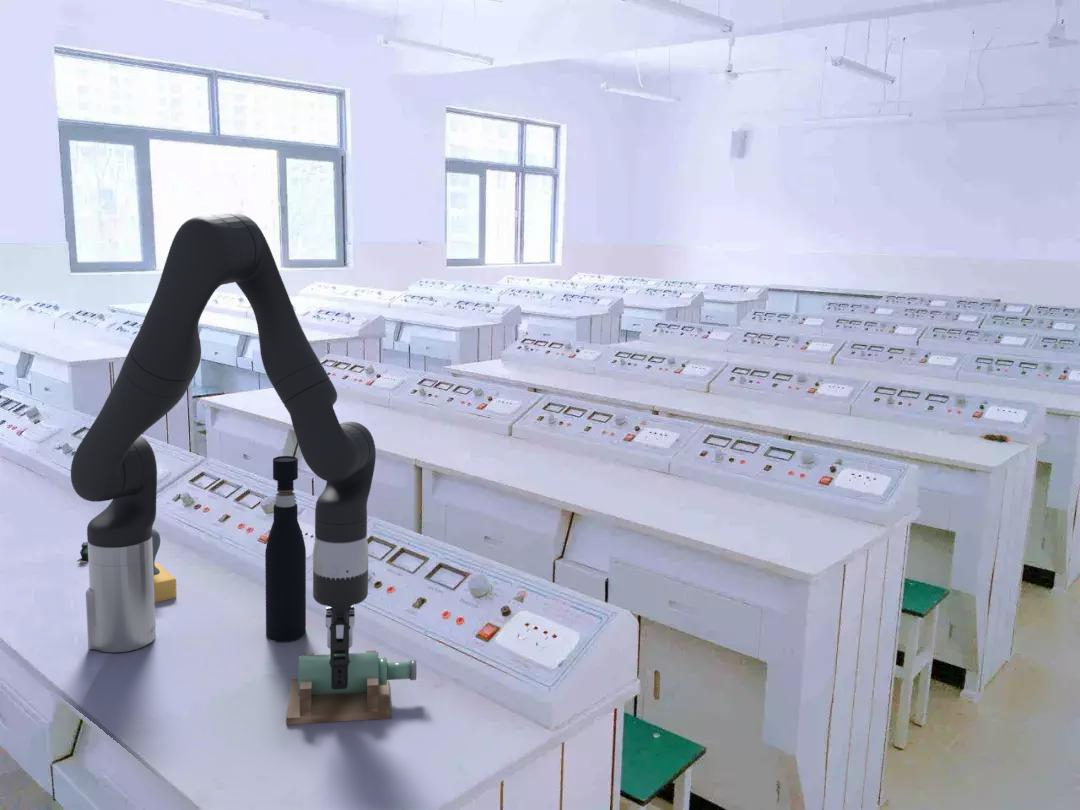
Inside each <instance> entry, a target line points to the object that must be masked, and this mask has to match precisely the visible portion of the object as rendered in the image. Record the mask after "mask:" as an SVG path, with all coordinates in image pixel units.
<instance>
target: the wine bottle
mask: <svg viewBox="0 0 1080 810" xmlns="http://www.w3.org/2000/svg"><path fill="white" fill-rule="evenodd" d="M298 462H299V460H298V457H296V456H292V455H281V456H276V457H274V458H273V459H272V479H273V480H274V481H276V482H277V488H276V491H277V492H276V494H275V496H274V499H275V500H274V503H275V504H273V522H272V525H271V528H270V530H269V533H268V536H267V540H266V545H265V552H264V553H265V556H264V557H265V559H264V560H265V565H264V566H265V569H264V570H265V637H266V638H267V639H268V640H270V641H273V642H276V643H289V642H293V641H298V640H300V639H301V638H303V637H304V636H305V635H306V634H307V629H306V628H307V626H306V625H307V623H306V622H307V621H306V620H307V614H306V613H307V611H306V610H307V609H306V608H307V602H306V601H307V599H306V598H307V589H306V588H307V585H306V584H307V582H306V581H307V573H306V572H307V552H306V549H307V548H306V542H305V538H304V534H303V532H302V528H301V526H300V523H299V521H298V504H297V500H296V498H297V496H296V493H295V492H294V491H295V487H294V481H296V480H297V479H298V478H299V474H298V473H299V472H298V471H299V468H298V464H299V463H298Z"/></svg>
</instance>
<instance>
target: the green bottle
mask: <svg viewBox="0 0 1080 810" xmlns="http://www.w3.org/2000/svg"><path fill="white" fill-rule="evenodd" d="M341 655H345V654H334V656H341ZM349 658H350V663H349V666H348V687H347V688H346V689H338V690H334V689H332V688H331V667H330V664H329V660H330V653H326V654H325V653H324V654H314V655H304V654H303V655H299V656H298V663H297V664H298V667H297V678H298V696H300V683H301V682H311V681H312V695H329V694H347V693H366V692H367V679H368V678H378V686H380V685H387V680H388V681H392V680H394V681H395V680H397V681H398V680H409V681H416V680H417V659H410V660H409V661H396V662H388V659H387V657H379V652H378V651H376V652H368V653H366V652H352V653H351V652H349Z"/></svg>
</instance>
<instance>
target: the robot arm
mask: <svg viewBox="0 0 1080 810" xmlns="http://www.w3.org/2000/svg"><path fill="white" fill-rule="evenodd" d="M262 231H263V230H262V229H261V228H260V226H259V225H258V224H257V223H256V221H254V220H253V219H252V218H251V217H248V216H247V215H245V214H241V213H232V212H231V213H217V214H206V215H205V214H204V215H198V216H194V217H192V218H189V219H188V220H186V221H185V222H184V223H183V224H181V226H180V227H179V228H178V230H177V231H176V233H175V234H174V237H173V239H172V242H171V244H170V247H169V250H168V253H167V256H166V260H165V262H164V267H163V269H162V272H161V276H160V279H159V282H158V285H157V289H156V291H155V294H154V296H153V298H152V300H151V303H150V305H149V308H148V310H147V312H146V314H145V317H144V319H143V322H142V323H141V326H140V328H139V331H138V333H137V334H136V336H135V338H134V340H133V341H132V343H131V346H130V348H129V350H128V353H127V355H126V357H125V358H124V362H123V364H122V365H121V368H120V371H119V374H118V375H117V378H116V381H115V382H114V384H113V386H112V387H111V390H110V392H109V394H108V395H107V398H106V400H105V402H104V404H103V405H102V407H101V410H100V411H99V414H97V416H96V418H95V419H94V421H93V423H92V425H91V426H90V428H89V429H88V430H87V432H86V434H85V436H84V437H83V438H82V440H81V441H80V443H79V445H78V447H77V448H76V450H75V452H74V455H73V457H72V461H71V466H70V481H71V485H72V488H73V490H74V491H75V493H76V494H77V496H79V497H80V498H81V499H83V500H84V501H88V502H93V503H94V502H105V501H111V502H110V503H109V504H108V505H107V507H106V508H105V509H103V510H102V511H101V512H100V513H98V514H97V515H96V516H95V517H93V518H92V519H91V520H90V521H89V523H88V524H87V527H86V537H87V538H86V540H87V542H88V559H89V562H88V579H89V587H88V589H87V590H86V591H85V604H86V605H85V607H86V609H85V610H86V626H87V628H86V629H87V646H88V647H87V648H88V650H97V651H100V652H104V653H124V652H131V651H135V650H138V649H141V648H144V647H146V646H147V645H149V644H151V643H152V642H154V640H156V626H157V624H156V608H155V604H156V602H154V574H153V546H152V529H153V526H154V523H155V520H156V516H157V495H158V494H157V493H158V492H157V491H158V490H157V489H158V469H157V468H158V467H157V466H158V465H157V460H156V455H155V452H154V450H153V448H152V446H151V444H150V443H149V441H148V440H147V439H146V438H144V437H142V435H143V434H144V433H145V432H147V430H148V429H150V428H151V427H152V426H154V424H157V422H158V421H160V419H162V418H163V417H164V416H166V415H167V414H168V413H169V412H170V411H171V410H172V409H174V408H175V406H177V405H178V403H179V402H180V401H181V400H182V398H183V397H184V395H185V394H186V392H187V391H188V389H189V386H190V385H191V382H192V381H193V379H194V377H195V375H196V373H197V371H198V369H199V366H200V364H201V359H202V358H201V357H202V345H201V338H200V333H199V323H200V319H201V317H202V315H203V312H204V310H205V308H206V306H207V304H208V303H209V300H210V299H211V297H212V296H213V294H214V293H215V291H217V289H218V288H219V287H220V286H222V285H228V284H232V283H235V284H236V285H237V287H238V288H239V289H240V290H241V292H242V294H243V295H244V296H245V298H246V299H247V301H248V302H249V303H248V304H249V305H250V307H251V309H252V311H253V314H254V317H255V322H256V327H257V331H258V332H257V333H258V342H259V349H260V352H259V353H260V357H261V361H262V366H263V369H264V371H265V373H266V376H267V378H268V380H269V382H270V384H271V385H272V387H273V388H274V390H275V392H276V393H277V396H278V397H279V399H280V401H281V403H282V404H283V405H284V407H285V408H286V410H287V412H288V414H289V417H290V420H291V424H292V428H293V431H294V434H295V437H296V441H297V443H298V446H299V451H300V453H301V456H302V457H303V460H304V462H305V463H306V464H307V466H308V468H309V469H310V471H312V472H313V473H314V475H316V477H318V478H320V479H321V480H323V481H325V482H326V485H325V487H324V489H323V491H322V492H321V494H320V495H319V497H317V500H316V502H315V511H314V512H315V513H314V541H313V542H314V543H313V553H312V597H313V599H314V601H315V602H316V603H317V604H319V605H321V606H326V613H325V627H326V629H327V630H326V631H327V637H326V643H327V644H326V646H327V648H328V649H330V653H329V654H330V660H329V664H330V667H331V688H332V689H334V690H338V689H346V688H347V687H348V666H349V663H350V658H349V653H350V648H351V647H352V646H353V645H354V644H353V643H354V642H353V634H354V633H353V632H354V631H353V629H354V628H353V627H354V626H355V622H356V621H355V615H356V614H355V610H356V609H355V605H358V604H360V603H362V602H363V601H365V600H366V599H367V598H368V594H369V544H368V510H367V508H368V507H367V506H368V500H369V495H370V492H371V489H372V488H371V487H372V483H373V477H374V473H375V466H376V458H377V457H376V456H377V454H376V453H377V452H376V444H375V440H374V438H373V435H372V433H371V432H370V431H369V429H368V428H367V427H366V426H365V425H363V424H362V423H359V422H357V421H356V422H355V421H344V422H342V423H340V422H339V419H338V416H337V415H336V411H335V409H334V404H336V402H337V400H338V393H337V390H336V388H335V385H334V383H333V382H332V380H331V379H330V377H329V375H328V373H327V371H326V370H325V367H324V366H323V364H322V363H321V361H320V359H319V358H318V356H317V354H316V352H315V351H314V349H313V347H312V346H311V344H310V342H309V340H308V338H307V335H306V333H305V331H304V330H303V328H302V325H301V324H300V321H299V319H298V316H297V314H296V312H295V311H296V310H295V309H294V306H293V304H292V301H291V299H290V296H289V294H288V291H287V288H286V287H285V284H284V281H283V279H282V276H281V274H280V271H279V269H278V265H277V263H276V260H275V258H274V255H273V253H272V250H271V247H270V246H269V243H268V240H267V238H266V237H265V235H264V233H263V232H262ZM334 654H345V655H341V656H334Z"/></svg>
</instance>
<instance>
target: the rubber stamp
mask: <svg viewBox="0 0 1080 810" xmlns="http://www.w3.org/2000/svg"><path fill="white" fill-rule="evenodd" d="M160 545H161V536H160V533H159V531H157V530H156V529H154V528H152V546H153V574H154V602H155V603H157V602H160V601H161V602H162V601H166V600H170V599H175V598H176V597H177V596H178V595H177V578H175V577H174V576H173V575H172V574H171V573H170V572H169V571H167V570H166V568H164V567H163V566H162V565H161V564H160V563H158V562H156V557H157V554H158V551H159V549H160V547H161V546H160Z"/></svg>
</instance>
